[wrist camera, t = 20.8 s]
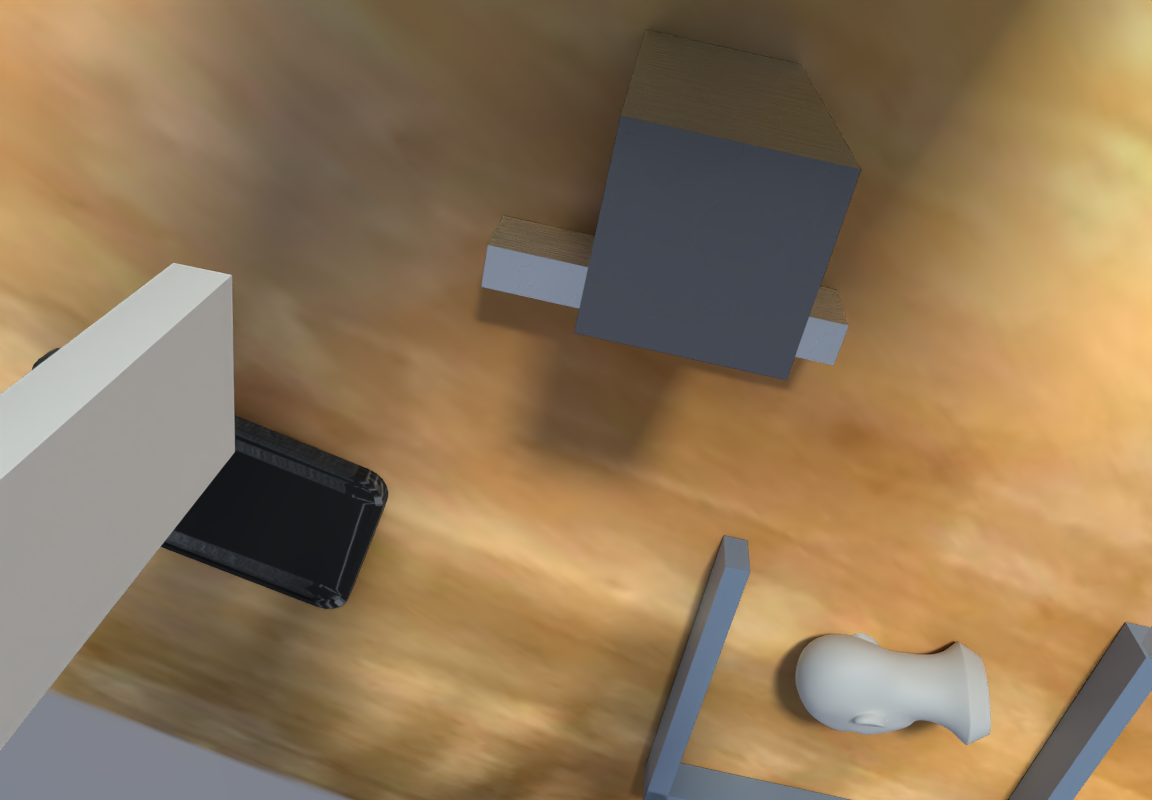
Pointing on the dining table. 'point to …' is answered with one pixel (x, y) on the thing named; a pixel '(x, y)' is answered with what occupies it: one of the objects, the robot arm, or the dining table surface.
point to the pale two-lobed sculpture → (892, 687)
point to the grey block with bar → (703, 217)
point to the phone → (283, 516)
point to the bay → (707, 796)
